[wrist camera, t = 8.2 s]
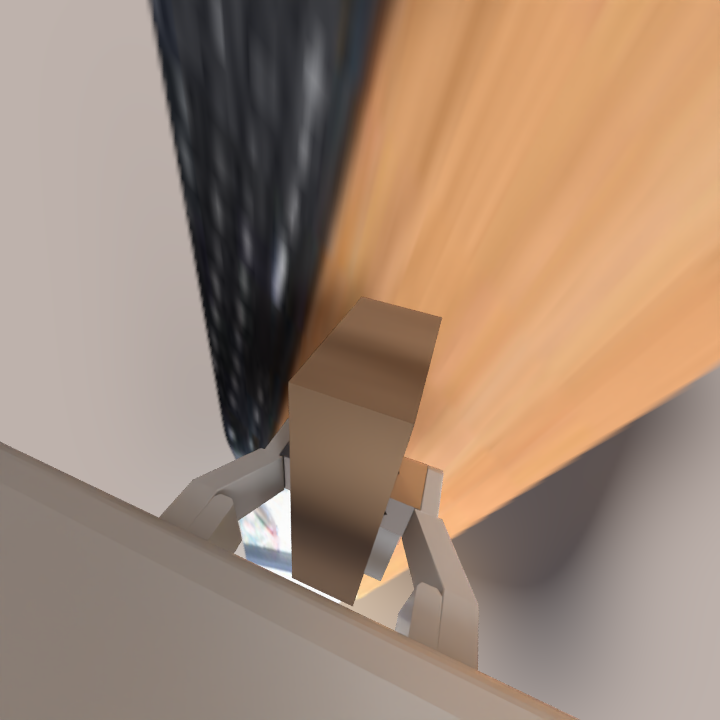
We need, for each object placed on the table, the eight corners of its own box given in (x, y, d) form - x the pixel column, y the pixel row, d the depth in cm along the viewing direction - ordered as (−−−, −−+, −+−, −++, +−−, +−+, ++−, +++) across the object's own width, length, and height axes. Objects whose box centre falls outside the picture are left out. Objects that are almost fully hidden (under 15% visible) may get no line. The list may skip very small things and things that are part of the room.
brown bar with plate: (324, 287, 10) (232, 363, 6) (485, 329, 9) (485, 448, 5) (310, 534, 20) (271, 617, 16) (384, 566, 19) (360, 662, 15)
